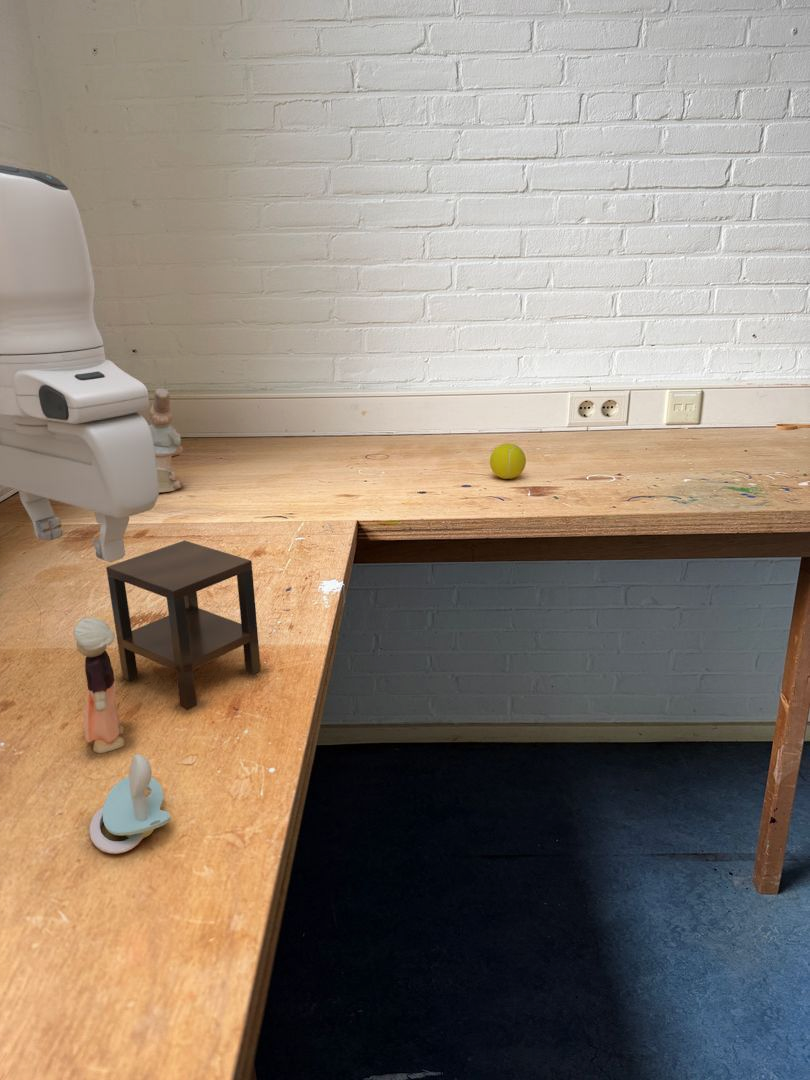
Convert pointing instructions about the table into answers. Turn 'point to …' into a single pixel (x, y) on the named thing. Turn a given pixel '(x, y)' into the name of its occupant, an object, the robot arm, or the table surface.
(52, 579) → the table surface
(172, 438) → the figurine
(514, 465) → the tennis ball
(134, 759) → the pacifier
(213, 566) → the rack
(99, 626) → the grandmother figurine
